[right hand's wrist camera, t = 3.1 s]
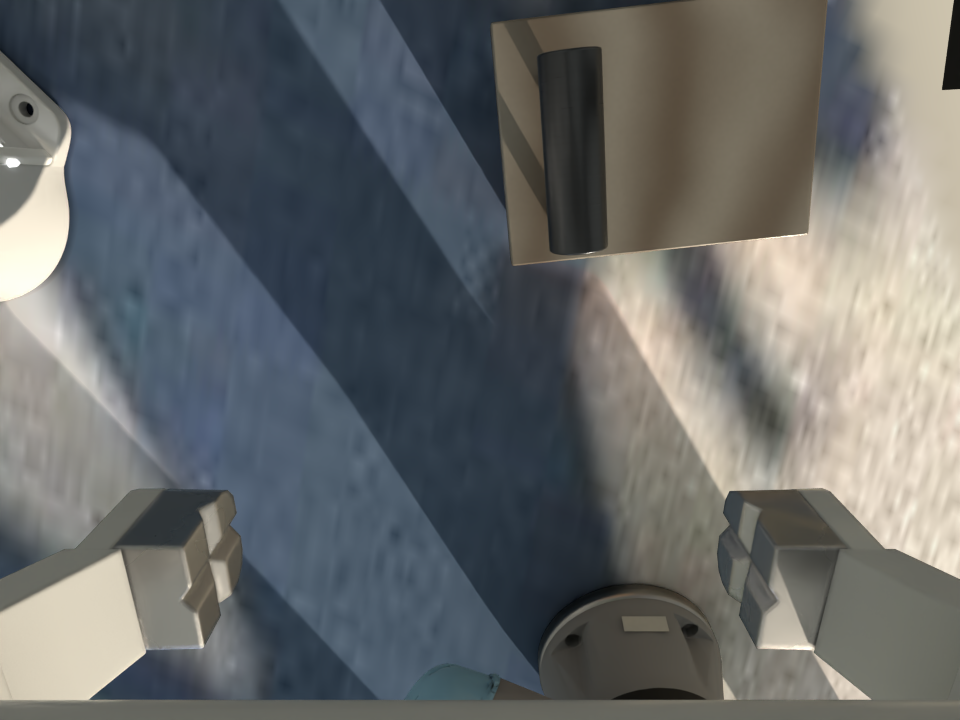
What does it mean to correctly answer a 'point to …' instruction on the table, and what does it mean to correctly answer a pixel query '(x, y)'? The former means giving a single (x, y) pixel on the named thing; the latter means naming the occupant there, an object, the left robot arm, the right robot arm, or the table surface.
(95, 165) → the table surface
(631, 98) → the lid
